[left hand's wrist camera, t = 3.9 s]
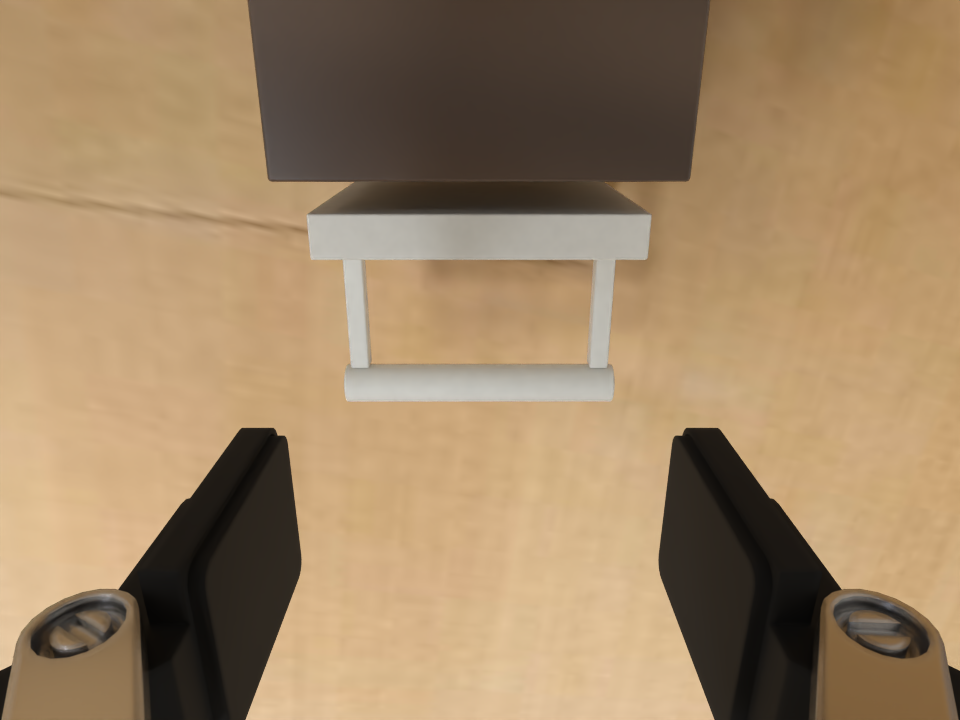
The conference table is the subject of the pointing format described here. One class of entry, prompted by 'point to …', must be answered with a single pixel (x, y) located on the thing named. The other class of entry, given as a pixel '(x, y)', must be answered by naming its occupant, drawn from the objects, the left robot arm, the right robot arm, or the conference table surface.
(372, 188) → the drawer
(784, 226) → the conference table surface
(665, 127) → the cabinet
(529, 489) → the conference table surface
